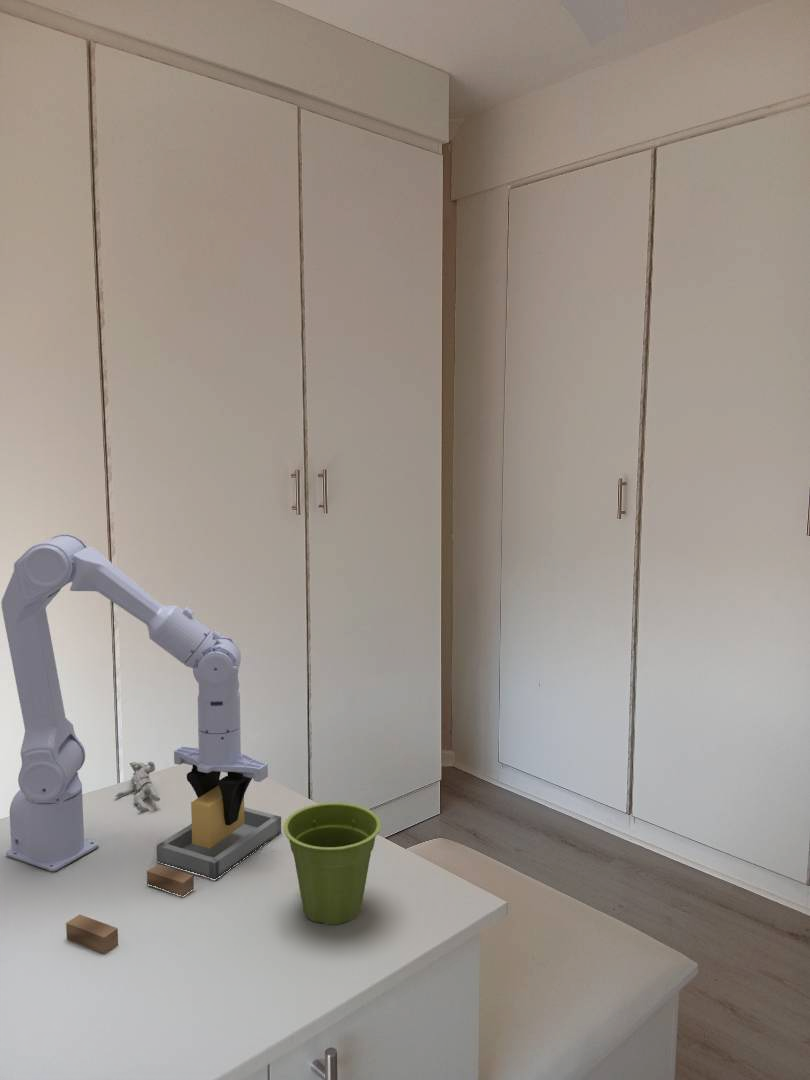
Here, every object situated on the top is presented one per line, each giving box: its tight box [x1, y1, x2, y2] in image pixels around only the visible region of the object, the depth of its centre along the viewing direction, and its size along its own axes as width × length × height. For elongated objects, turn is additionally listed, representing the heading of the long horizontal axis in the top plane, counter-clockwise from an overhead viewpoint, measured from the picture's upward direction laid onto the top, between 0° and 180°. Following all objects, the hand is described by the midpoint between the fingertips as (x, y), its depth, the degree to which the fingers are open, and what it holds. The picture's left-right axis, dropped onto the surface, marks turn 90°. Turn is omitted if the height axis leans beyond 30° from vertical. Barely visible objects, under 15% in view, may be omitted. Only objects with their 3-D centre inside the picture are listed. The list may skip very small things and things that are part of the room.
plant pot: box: [282, 802, 382, 925], centre depth 104 cm, size 12×12×11 cm
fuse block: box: [190, 785, 245, 848], centre depth 119 cm, size 3×8×6 cm, turn 156°
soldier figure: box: [114, 760, 161, 813], centre depth 135 cm, size 8×5×12 cm
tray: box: [155, 806, 282, 879], centre depth 120 cm, size 10×15×2 cm, turn 153°
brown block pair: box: [65, 863, 195, 955], centre depth 103 cm, size 6×15×2 cm, turn 153°
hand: (221, 819), depth 119 cm, fingers closed on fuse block, 3 cm apart
